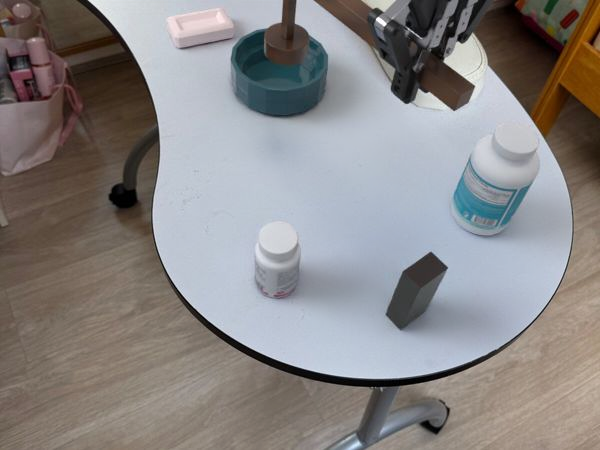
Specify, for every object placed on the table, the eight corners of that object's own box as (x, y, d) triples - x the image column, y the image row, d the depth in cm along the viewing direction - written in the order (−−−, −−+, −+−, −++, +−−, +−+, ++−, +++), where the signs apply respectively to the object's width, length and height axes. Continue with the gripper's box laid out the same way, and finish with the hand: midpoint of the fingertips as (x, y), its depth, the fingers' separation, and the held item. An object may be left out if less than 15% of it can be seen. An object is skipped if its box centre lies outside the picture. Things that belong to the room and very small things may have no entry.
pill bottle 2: (489, 185, 75) (530, 106, 65) (519, 230, 71) (567, 155, 61) (437, 197, 74) (470, 118, 63) (465, 244, 70) (504, 169, 59)
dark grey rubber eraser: (384, 314, 63) (402, 271, 56) (410, 295, 65) (431, 250, 58) (400, 330, 62) (419, 288, 55) (426, 310, 64) (448, 267, 57)
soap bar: (235, 38, 89) (234, 25, 88) (177, 50, 87) (175, 36, 85) (223, 18, 92) (223, 4, 90) (167, 29, 90) (165, 15, 88)
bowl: (338, 74, 86) (342, 46, 82) (300, 130, 79) (303, 102, 75) (258, 45, 89) (259, 17, 85) (215, 97, 82) (213, 69, 78)
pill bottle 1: (300, 266, 66) (306, 222, 60) (293, 302, 64) (298, 261, 57) (259, 258, 67) (260, 214, 60) (250, 294, 64) (250, 252, 57)
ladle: (255, 47, 64) (256, -48, 55) (289, 32, 66) (296, -62, 57) (414, 190, 54) (447, 102, 45) (449, 167, 56) (488, 78, 47)
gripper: (446, -60, 33) (385, 152, 47) (587, -119, 38) (495, 86, 52) (356, -117, 36) (324, 98, 50) (499, -164, 41) (434, 41, 55)
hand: (412, 91), depth 51 cm, fingers closed on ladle
